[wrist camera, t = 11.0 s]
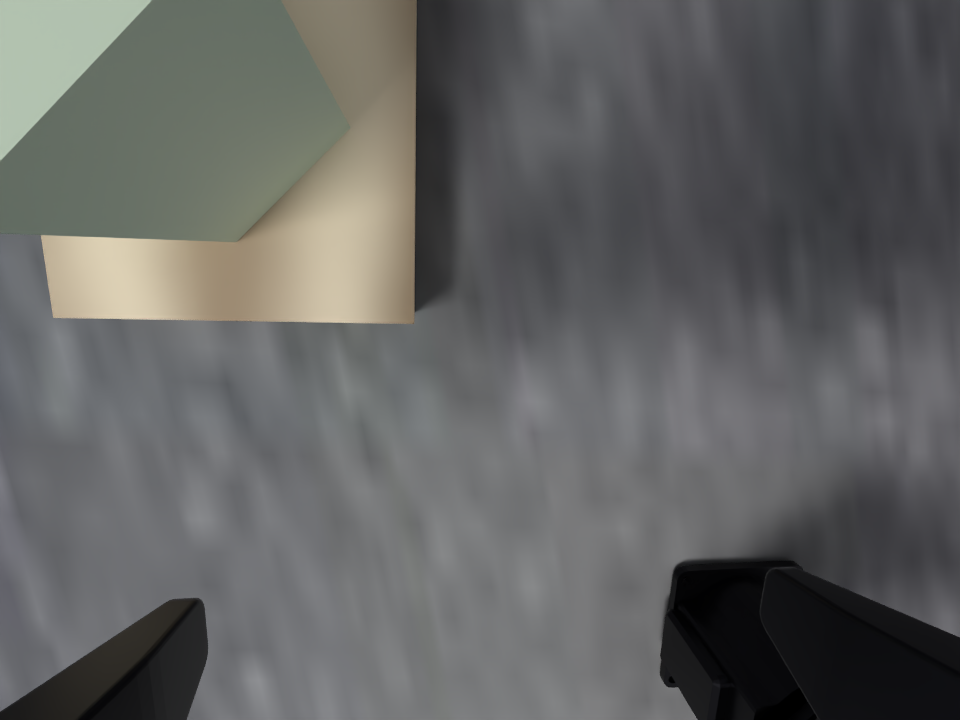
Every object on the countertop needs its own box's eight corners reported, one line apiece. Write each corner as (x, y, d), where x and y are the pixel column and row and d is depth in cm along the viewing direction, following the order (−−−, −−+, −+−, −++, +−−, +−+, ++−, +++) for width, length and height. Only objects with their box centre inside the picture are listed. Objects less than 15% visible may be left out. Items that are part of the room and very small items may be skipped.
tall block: (350, 128, 15) (234, -87, 5) (236, 242, 15) (-66, 231, 6) (218, -17, 14) (-229, -618, 4) (97, 111, 14) (-579, -182, 5)
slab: (416, -37, 17) (417, -95, 14) (414, 312, 20) (414, 323, 17) (64, -75, 16) (-17, -149, 13) (111, 306, 18) (53, 317, 15)
